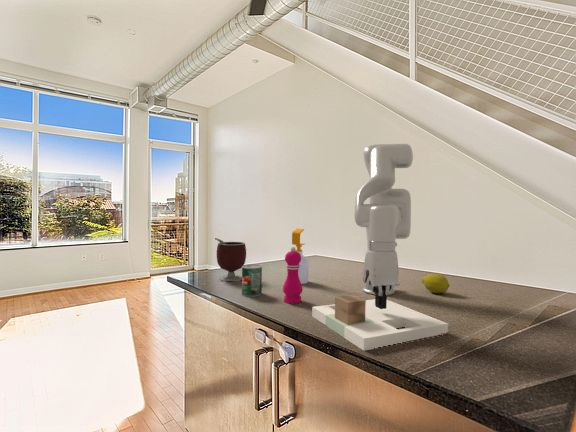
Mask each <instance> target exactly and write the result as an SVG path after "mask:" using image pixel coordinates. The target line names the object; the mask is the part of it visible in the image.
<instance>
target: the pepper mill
mask: <svg viewBox="0 0 576 432" xmlns="http://www.w3.org/2000/svg"><path fill="white" fill-rule="evenodd" d="M295 250H297V248H296V246H292V247H291V248H290V251H288V252H287V253H286V254H285V256H284V261H285V262H286V264H285V265H286V267H285V268H286V270H287V273H286V274H287V276H286V279H285V281H284V283H283V285H282V291H283V293H284V296H283V301H284V302H285V303H287V304H293V305H294V304H300V303H301V302H302V296H301V294H302V292H303V284H301V282H300V279H299V276H298V270H299V268H300V267H299V266H300V265H299V263H300V261H301V255H300V253H298V252H296V251H295Z"/></svg>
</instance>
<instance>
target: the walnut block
mask: <svg viewBox="0 0 576 432" xmlns="http://www.w3.org/2000/svg"><path fill="white" fill-rule="evenodd" d="M334 304H335V318H336V319H337V320H339V321H341V322H343V323H345V324H347V325H350V324H355V323H361V322H365V305H366V300H365V299H363V298H361V297H358V296H356V295H354V294H351V295H350V294H347V295H341V296H335V297H334Z"/></svg>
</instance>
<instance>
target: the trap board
mask: <svg viewBox="0 0 576 432" xmlns="http://www.w3.org/2000/svg"><path fill="white" fill-rule="evenodd" d="M311 317H312V318H314V319H316V320H317V321H319V322H320V323H322V324H323V325H325V326H326V327H327V328H329V329H330V330H332V331H333V332H335V333H336V334H338V335H340V336H341V337H343V338H344V339H345V340H347V342H348V341H349V342H350V343H351V344H353V345H354V346H356V347H357V348H359V349H361V350H362V351H370V350H375V349H379V348H378V347H381V348H384V347H383V346H386V347H389V346H388V345H391V346H394V345H393V344H396V345H398V344H397V343H401V344H403V343H402V342H406V341H410V340H415V339H419V338H424V337H429V336H434V335H438V334H441V333H446V332H448V333H449V323H447V322H445V321H443V320H440V319H437V318H435V317H431V316H429V315H427V314H424V313H422V312H419V311H417V310H415V309H413V308H412V309H411V308H409V307H407V306H405V305H401V304H399V303H397V302H395V301H392V300H388V299H387V304H386V309H384V308H383V309H380V308H378V307H376V306H375V298H373V299H367V300H366V305H365V322H361V323H355V324H350V325H347V324H345V323H343V322H341V321H339V320H337V319H336V318H335V303H332V304H324V305H316V306H311ZM399 327H405V328H399ZM396 328H399V329H396ZM406 343H407V342H406ZM374 348H375V349H374Z"/></svg>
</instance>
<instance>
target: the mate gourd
mask: <svg viewBox="0 0 576 432" xmlns="http://www.w3.org/2000/svg"><path fill="white" fill-rule="evenodd" d="M214 240H215V241H218V242H217V248H216V262H217V264H218V266H219V267H220V269H222V270H224V271H227V274H225V275H220V276H218V277H217V280H218V279H219V280H221V281H220V282H223V281H236V282H241V281H240V280H242V275H238V274H236V273H235V272H237V271H238V270H240V269H242V266H244V265H246V259H247V248H246V242H244V241H243V242H242V241H223V240H221V239H219V238H216V237H215V238H214ZM219 280H218V281H219Z"/></svg>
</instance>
